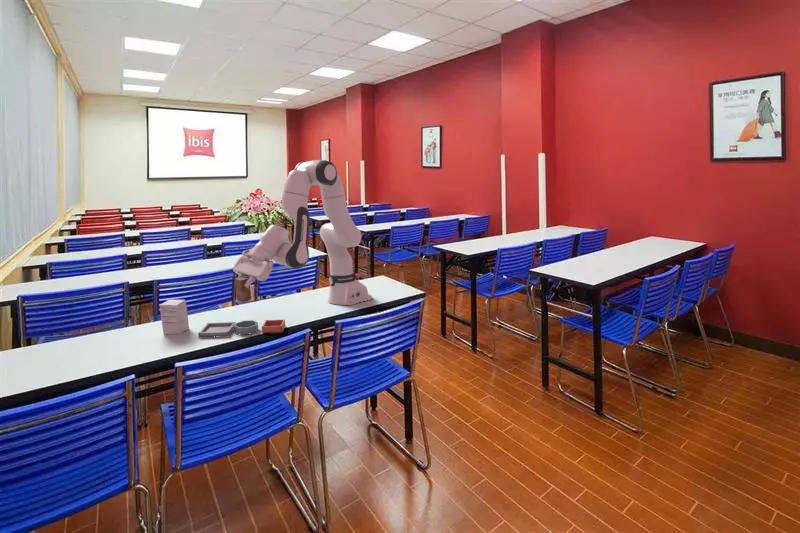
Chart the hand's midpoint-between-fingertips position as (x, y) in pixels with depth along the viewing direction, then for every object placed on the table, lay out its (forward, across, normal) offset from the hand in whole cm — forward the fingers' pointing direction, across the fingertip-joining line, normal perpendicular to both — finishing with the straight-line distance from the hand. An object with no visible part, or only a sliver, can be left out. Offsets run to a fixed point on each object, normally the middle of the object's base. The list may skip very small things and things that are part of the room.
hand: (241, 285), depth 184 cm
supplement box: (+27, +23, -1) cm, 35 cm away
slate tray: (+19, +8, -8) cm, 23 cm away
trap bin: (+8, -8, -20) cm, 23 cm away
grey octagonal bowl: (+14, 0, -14) cm, 20 cm away
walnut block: (+4, 0, -5) cm, 6 cm away
